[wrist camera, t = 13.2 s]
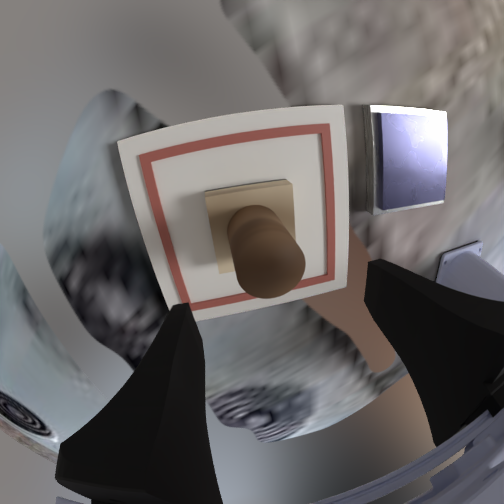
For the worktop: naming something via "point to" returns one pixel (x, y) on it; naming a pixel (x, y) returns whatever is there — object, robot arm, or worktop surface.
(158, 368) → the robot arm
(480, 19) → the worktop surface
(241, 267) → the stamp
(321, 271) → the marked board
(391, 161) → the ink pad
